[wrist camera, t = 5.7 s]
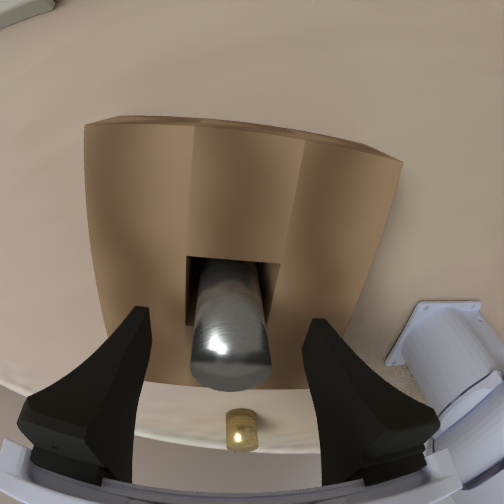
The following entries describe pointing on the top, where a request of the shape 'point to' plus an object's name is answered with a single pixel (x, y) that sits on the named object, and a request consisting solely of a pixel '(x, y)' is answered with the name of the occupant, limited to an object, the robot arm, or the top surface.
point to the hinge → (22, 10)
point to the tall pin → (229, 327)
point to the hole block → (231, 227)
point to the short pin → (241, 430)
